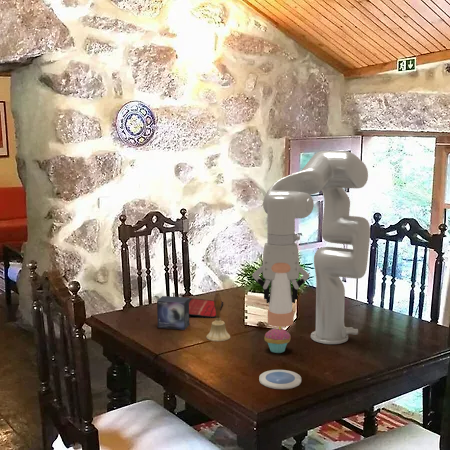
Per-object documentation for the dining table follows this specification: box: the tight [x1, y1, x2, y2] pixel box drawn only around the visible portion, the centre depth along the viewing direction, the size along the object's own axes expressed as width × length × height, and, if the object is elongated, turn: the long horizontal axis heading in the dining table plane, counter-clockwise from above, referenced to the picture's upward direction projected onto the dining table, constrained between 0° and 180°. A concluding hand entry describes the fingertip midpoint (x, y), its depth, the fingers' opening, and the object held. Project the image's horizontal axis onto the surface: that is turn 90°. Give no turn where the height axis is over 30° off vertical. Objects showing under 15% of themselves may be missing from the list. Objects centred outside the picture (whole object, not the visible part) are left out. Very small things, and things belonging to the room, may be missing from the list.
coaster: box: [258, 369, 302, 390], centre depth 182 cm, size 12×12×1 cm
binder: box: [188, 297, 224, 319], centre depth 250 cm, size 16×2×21 cm
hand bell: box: [205, 291, 231, 342], centre depth 217 cm, size 8×8×16 cm
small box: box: [156, 295, 191, 331], centre depth 229 cm, size 11×6×10 cm, turn 76°
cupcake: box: [264, 327, 292, 354], centre depth 205 cm, size 9×8×12 cm
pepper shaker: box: [267, 263, 295, 328], centre depth 178 cm, size 7×7×19 cm
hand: (280, 301), depth 178 cm, fingers closed on pepper shaker, 6 cm apart
